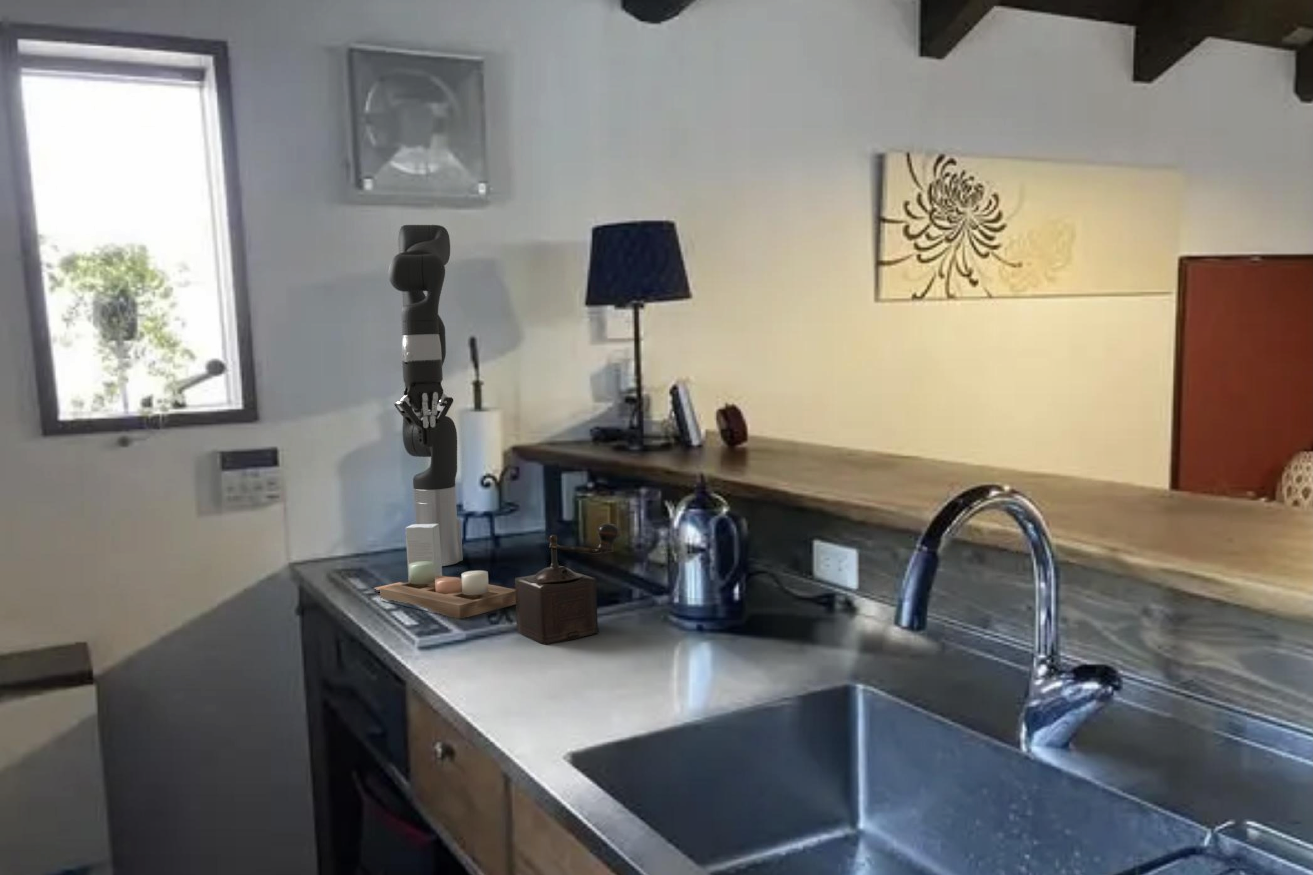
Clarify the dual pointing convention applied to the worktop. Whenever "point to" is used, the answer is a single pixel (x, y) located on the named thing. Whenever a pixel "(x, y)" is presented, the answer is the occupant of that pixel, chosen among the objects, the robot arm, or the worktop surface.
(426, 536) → the skincare box
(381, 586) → the tile
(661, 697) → the worktop surface
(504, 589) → the button board
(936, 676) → the worktop surface
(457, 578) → the peach rounded piece
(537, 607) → the coffee grinder
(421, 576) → the button sage
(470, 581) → the button cream
